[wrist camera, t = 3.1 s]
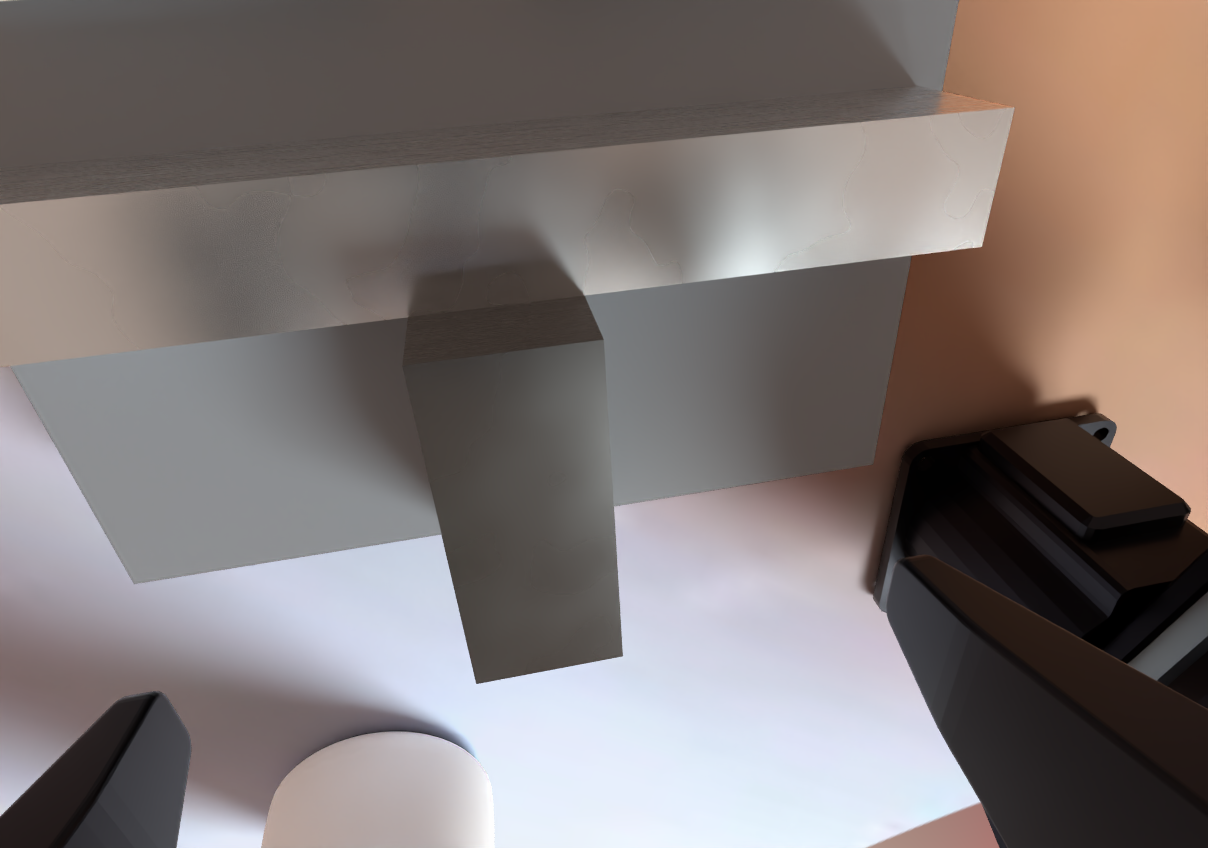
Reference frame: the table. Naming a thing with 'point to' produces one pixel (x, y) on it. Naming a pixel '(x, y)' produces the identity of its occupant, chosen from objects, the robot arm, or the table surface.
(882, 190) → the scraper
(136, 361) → the board
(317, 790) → the water bottle
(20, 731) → the table surface
